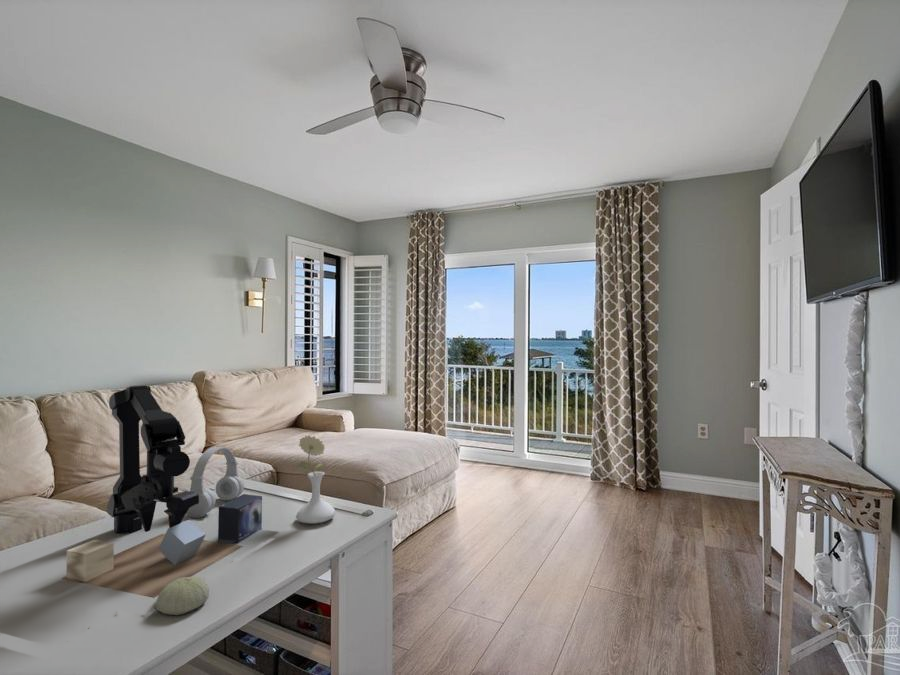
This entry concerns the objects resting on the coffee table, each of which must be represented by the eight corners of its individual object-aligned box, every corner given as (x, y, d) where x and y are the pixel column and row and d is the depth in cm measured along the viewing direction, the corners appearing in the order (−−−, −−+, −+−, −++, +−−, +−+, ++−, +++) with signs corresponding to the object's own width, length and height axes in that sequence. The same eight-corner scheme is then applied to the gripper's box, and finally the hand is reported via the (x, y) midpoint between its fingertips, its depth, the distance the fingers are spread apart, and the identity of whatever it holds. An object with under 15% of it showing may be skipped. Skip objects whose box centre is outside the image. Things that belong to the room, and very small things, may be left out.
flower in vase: (343, 517, 139) (343, 435, 139) (314, 530, 129) (313, 441, 130) (314, 509, 146) (314, 430, 146) (284, 521, 136) (284, 437, 137)
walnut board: (60, 584, 101) (60, 578, 101) (162, 538, 125) (162, 533, 125) (154, 603, 93) (154, 597, 93) (243, 550, 117) (243, 546, 117)
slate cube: (167, 528, 108) (185, 544, 106) (189, 519, 113) (205, 534, 112) (157, 549, 108) (174, 565, 107) (179, 539, 114) (196, 554, 113)
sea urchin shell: (175, 615, 86) (159, 577, 89) (159, 636, 89) (145, 598, 92) (221, 592, 94) (205, 558, 97) (205, 612, 96) (190, 578, 100)
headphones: (222, 496, 159) (222, 441, 160) (245, 497, 158) (245, 441, 158) (181, 518, 139) (181, 454, 140) (207, 519, 138) (207, 455, 139)
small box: (238, 548, 118) (238, 508, 118) (216, 546, 120) (216, 506, 120) (263, 532, 129) (263, 494, 129) (242, 530, 130) (242, 493, 130)
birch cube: (66, 578, 101) (66, 550, 101) (94, 565, 107) (94, 539, 107) (85, 582, 99) (86, 554, 100) (113, 569, 105) (113, 542, 105)
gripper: (99, 474, 108) (98, 541, 107) (159, 481, 102) (159, 552, 102) (143, 463, 118) (143, 524, 118) (200, 468, 113) (200, 532, 112)
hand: (160, 533), depth 112 cm, fingers open, 8 cm apart
